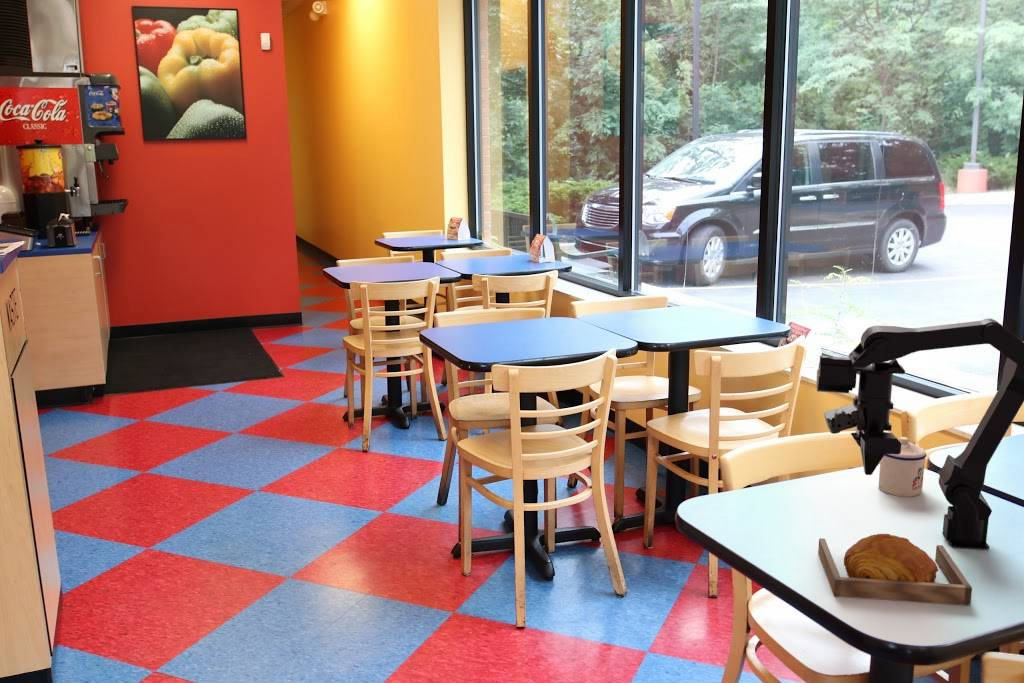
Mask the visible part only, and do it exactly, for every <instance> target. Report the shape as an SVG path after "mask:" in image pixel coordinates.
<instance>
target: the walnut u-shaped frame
mask: <svg viewBox="0 0 1024 683" xmlns="http://www.w3.org/2000/svg"><path fill="white" fill-rule="evenodd" d="M817 550H818V551H817V552H818V553H817V554H818V557H819V560H820V562H821V565H822V568H823V571H824V573H825V576H826V578H827V581H828V584H829V586H830V590H831V592H832V595H833V596H834V597H840V598H841V597H842V598H857V599H858V598H859V599H871V600H885V601H899V602H916V603H929V604H930V603H931V604H943V605H944V604H946V605H947V604H948V605H958V604H970V605H969V606H971V604H972V595H973V594H972V593H973V586H972V585H971V584H970V582H968V580H967V578H966V576H964V574H963V572H962V571H961V570H960V569H959V567H958V565H957V564H956V563H955V561H954V560H953V558H952V557H951V555H950V554H949V552H948V551H947V549H946V548H945V546H944V545H942V544H936V548H935V558H934V559H935V560H934V562H935V563H936V565H938V566H937V567H938V568H939V569H940V571H941V573H942V574H943V575H944V577H945V578H946V580H947V579H948V580H947V581H948V583H939V582H934V583H927V582H912V581H896V580H880V579H864V578H849V577H846V576H845V577H844V576H841V575H840V573H839V570H838V568H837V565H836V563H835V561H834V557H833V555H832V553H831V551H830V548H829V546H828V543H827V540H826V538H824V537H823V538H820V537H819V538H818V548H817Z"/></svg>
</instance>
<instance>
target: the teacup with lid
mask: <svg viewBox="0 0 1024 683" xmlns="http://www.w3.org/2000/svg"><path fill="white" fill-rule="evenodd" d="M898 440H899V441H900V442H901V453H900V454H885V455H884V456H883V458H882V459H881V461H880V462H879V473H878V474H879V476H878V488H879V489H880V490H881V491H882V492H884V493H886V494H889V495H893V496H898V497H906V498H907V497H909V498H910V497H916V496H919V495H920V494H922V493H923V486H924V485H923V483H924V472H925V461H926V457H927V452H926V451H925V449H924V448H922V447H921V446H918V445H917V444H914V443H913V442H910V439H909V437H907V436H901V437H899V438H898Z"/></svg>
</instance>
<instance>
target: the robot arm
mask: <svg viewBox="0 0 1024 683" xmlns="http://www.w3.org/2000/svg"><path fill="white" fill-rule="evenodd" d="M978 345H990V346H991V347H993V348H994V349H996V350H997V351H999V352H1000V353H1001V354H1003V355H1004V356H1005V357H1006V360H1005V364H1004V367H1003V372H1002V377H1001V384H1000V386H999V388H998V390H997V392H996V393H995V395H994V397H993V398H992V400H991V402H990V404H989V405H988V408H987V409H986V411H985V413H984V415H983V417H982V418H981V419H980V422H979V423H978V425H977V427H976V429H975V431H974V433H973V434H972V436H971V438H970V440H969V441H968V443H967V444H966V447H965V448H964V450H963V451H962V452H961V453H960V454H959V455H957V456H956V457H953V456H952V455H950V454H948V455H947V456H946V458H945V461H944V464H943V465H942V467H941V468H940V469H939V470H938V471H937V473H938V475H939V478H938V484H939V487H940V488H939V489H940V490H941V492H942V494H943V495H944V497H945V499H946V501H947V502H948V503H949V505H948V506H947V511H946V512H947V513H945V514H944V515H943V523H942V524H943V525H942V531H941V532H942V533H941V534H942V536H943V537H944V538H945V540H946V541H947V542H948V544H949V545H950V547H952V548H960V549H974V550H975V549H976V550H977V549H978V550H981V549H982V550H989V549H990V544H988V543H987V540H988V538H987V537H988V529H989V520H990V516H991V515H992V513H993V510H992V508H991V507H990V505H989V504H988V502H987V500H986V498H985V497H984V495H983V494H982V490H983V488H984V485H985V484H984V483H985V479H986V472H987V468H988V465H989V462H990V461H991V459H992V458H993V456H994V454H995V452H997V449H998V447H999V445H1000V444H1001V442H1002V440H1003V438H1004V437H1005V435H1006V433H1007V431H1008V429H1009V428H1010V426H1011V425H1012V423H1013V421H1014V419H1015V418H1016V415H1018V412H1019V411H1020V409H1021V407H1022V406H1023V404H1024V341H1023V340H1022V339H1020V338H1019V337H1017V336H1016V335H1014V334H1013V333H1012V332H1010V331H1009V330H1007V329H1006V328H1005V326H1004V325H1002V324H1001V323H1000V322H999V321H997V320H995V319H994V318H983V319H981V320H976V321H975V320H974V321H967V322H958V323H957V322H956V323H949V324H941V325H931V326H924V327H913V328H912V327H903V326H897V325H896V326H894V325H873V326H869V327H867V328H866V329H865V330H864V331H863V333H862V335H861V337H860V342H859V343H858V344H857V345H856V346H855V348H854V349H853V350H852V351H851V352H850V353H849V354H848V357H843V356H840V357H839V356H831V355H828V354H827V355H823V354H821V355H820V356H819V362H818V369H816V392H818V393H821V392H822V393H837V394H849V393H850V391H851V392H852V391H853V389H856V388H857V387H856V385H857V373H858V372H859V374H858V375H859V376H858V378H859V379H858V389H857V391H858V392H857V395H855V396H854V397H853V400H852V404H849V405H844V406H843V405H842V406H839V407H836V408H833V409H832V408H831V409H829V410H826V411H824V412H823V417H824V419H825V422H826V425H827V429H828V430H829V431H830V433H831V434H832V435H833V434H839V433H841V432H843V431H846V430H850V429H853V428H855V432H851V433H850V435H851V436H852V438H853V440H854V441H855V443H856V444H857V446H858V447H859V449H860V454H861V460H862V465H863V472H864V474H865V475H866V476H871V475H873V473H874V472H875V470H876V469H877V467H878V465H880V461H881V459H882V458H883V456H884V455H885V454H900V453H901V442H900V441H899V438H897V436H896V435H895V434H894V433H893V432H891V431H892V429H893V428H892V427H893V426H892V424H891V422H890V417H891V416H890V414H891V410H894V403H893V402H892V391H893V389H892V388H893V379H894V374H896V375H904V374H905V373H906V370H905V369H904V367H903V365H901V364H900V363H899V361H898V360H897V359H900V358H904V357H906V356H908V355H910V354H914V353H916V352H921V351H930V350H931V351H933V350H940V349H941V350H942V349H949V348H958V347H959V348H960V347H967V346H970V347H971V346H978ZM887 431H889V432H887Z"/></svg>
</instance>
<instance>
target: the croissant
mask: <svg viewBox="0 0 1024 683" xmlns="http://www.w3.org/2000/svg"><path fill="white" fill-rule="evenodd" d="M937 565H938V564H937V563H936V561H935V560H933V558H931V557H930V555H928V553H927V552H926V551H924V550H923V549H921V548H920V547H919V546H917V545H915V544H913V542H911V541H910V540H909V538H905V537H901V536H898V535H893V534H890V533H878V534H876V533H875V534H873V535H872V534H871V535H869V536H866V537H863V538H861V539H859V540H858V541H857V542H855V543H854V544H853V545H851V547H849V548H848V549H847V550H846V552H845V554H844V557H843V566H844V567H845V572H846V574H847V576H848V577H849V578H864V579H880V580H896V581H912V582H927V583H936V582H935V581H936V579H937V572H939V567H938V566H937Z"/></svg>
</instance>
